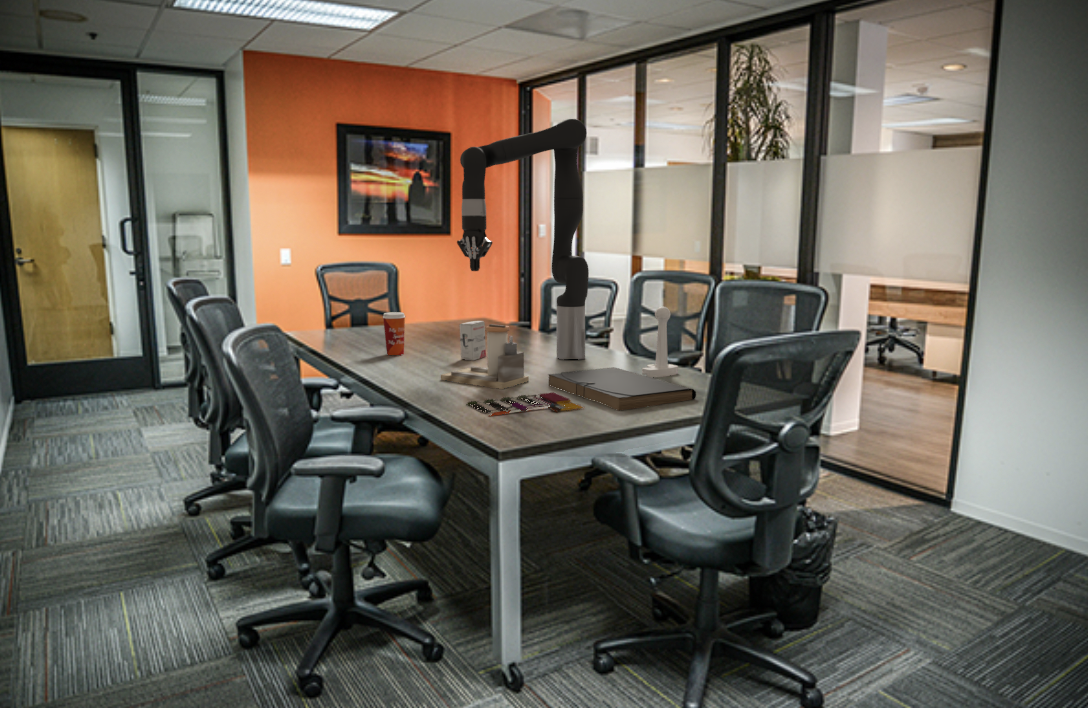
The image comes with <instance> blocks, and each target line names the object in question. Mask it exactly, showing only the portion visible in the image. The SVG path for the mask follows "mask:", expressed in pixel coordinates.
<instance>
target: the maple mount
mask: <svg viewBox="0 0 1088 708" xmlns="http://www.w3.org/2000/svg"><path fill="white" fill-rule="evenodd" d="M524 353H525V352H523V351H517V355H502V356H498V377H493V376H488V367H481V366H477V365H474V366H470V368H469V367H467V368H462V369H459V370H453V371H450V372H447V373H446V372H445V373H442V374H440V381H445V380H447V381H446V382H451V381H453V382H452V383H458V382H459V384H464V383H467V384H466V385H470V384H473V385H472V386H477V385H480V386H479V387H483V386H485V387H484V388H490V387H491V388H492V389H496V388H499V389H498V390H505V389H508V388H507V387H509V388H511V387H510V386H512V387H515V386H514V385H516V386H518V385H517V384H519V385H521V384H520V383H522V384H525V383H524V382H526V383H528V382H527V381H529V380H530V379H529V376H528V375H525V354H524ZM529 382H530V381H529ZM504 388H505V389H504Z"/></svg>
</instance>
